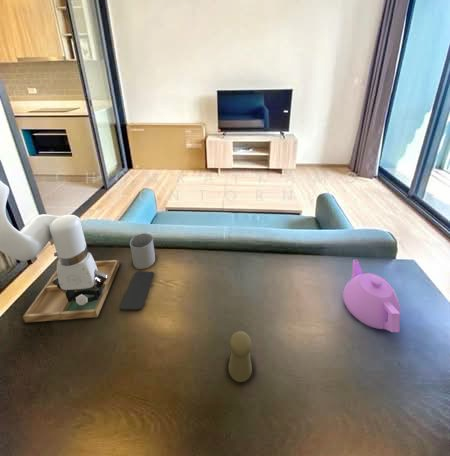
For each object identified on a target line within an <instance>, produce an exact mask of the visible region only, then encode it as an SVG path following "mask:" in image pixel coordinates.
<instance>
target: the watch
mask: <svg viewBox="0 0 450 456" xmlns="http://www.w3.org/2000/svg"><path fill="white" fill-rule="evenodd" d="M84 295H94V293H93V290H81V291H78V292H75V293H74V294H73V295H72V296H73V301H75V302H77V303H78V304H79V305H84V304H85V303H86V302H87V303H88V302H92V301H95V297H90V298H87V297H86V296H84ZM77 296H78V297H77Z"/></svg>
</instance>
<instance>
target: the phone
mask: <svg viewBox="0 0 450 456" xmlns="http://www.w3.org/2000/svg"><path fill="white" fill-rule="evenodd" d="M154 277H155V272H154V271H141V270H140V271H136V272H134V274H133V275H132V278H131V280H130V282H129V284H128V287H127V289H126V291H125V293H124V295H123V298H122V300H121V302H120V304H119V309H120V311H136V312H137V311H138V312H139V311H141V310H142V309H143V308H144V304H145V302H146V300H147V296H148V293H149V291H150V288H151V286H152V282H153V279H154Z"/></svg>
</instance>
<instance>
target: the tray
mask: <svg viewBox="0 0 450 456" xmlns="http://www.w3.org/2000/svg"><path fill="white" fill-rule="evenodd" d="M94 261H95V260H94ZM95 263H96V266H97V269H98V271H99V272H101V273H104V274H106V275H108V277H107V279H106V281H105V282H104V284H103V285H102V286H101V289H102V294H101V296H99V299H98V300H95V301H92V302H88V303H87V302H86V303H85V304H84V305H79V304H78V303H77V302H75V301H73V299H72V301H71V302H68V299H67V297H66V294H65V293H63V292H62V291H63V290H61V289H59V288H58V287H57V286H56V285H54V284H53V283H52V281H53V280H54V278H56V277H57V269H56V270H54V273H52V275H51V276H50V278H49V280H48V281H47V282H46V284H45V285H44V287H43V288H42V289H41V291H40V292H39V294H38V295H37V296H36V298H35V300H33V301H32V303H31V305H30V306H29V307H28V308H27V310H26V312H25V313H24V314H23V316H22V318H23V321H24V323H37V322H38V323H39V322H50V321H51V322H52V321H63V320H75V319H89V318H98V317H99V314H100V312H101V309H102V308H103V305H104V302H105V301H106V298H107V296H108V293H109V291H110V288H111V286H112V283H113V281H114V279H115V276H116V275H117V272H118V269H119V268H120V260H119V259H111V260H96V261H95ZM98 279H99V278H98ZM99 280H101V279H99ZM95 284H97V283H96V282H95ZM81 290H93V291H94V289H93V288H92V287H91V288H86V289H74V291H75V292H78V291H81ZM84 296H86V297H87V298H90V297H94V295H84ZM77 297H78V296H77Z"/></svg>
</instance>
